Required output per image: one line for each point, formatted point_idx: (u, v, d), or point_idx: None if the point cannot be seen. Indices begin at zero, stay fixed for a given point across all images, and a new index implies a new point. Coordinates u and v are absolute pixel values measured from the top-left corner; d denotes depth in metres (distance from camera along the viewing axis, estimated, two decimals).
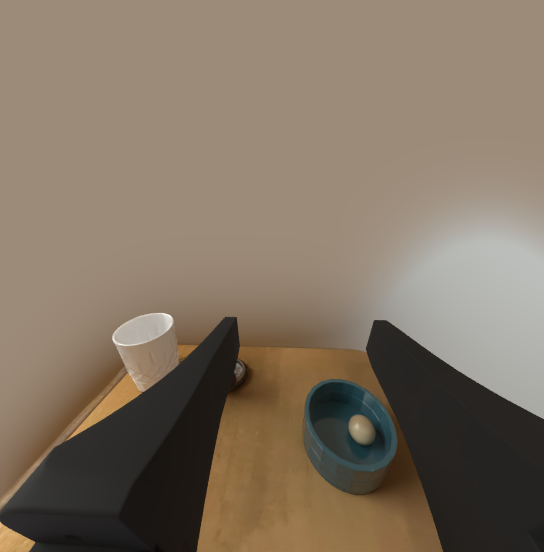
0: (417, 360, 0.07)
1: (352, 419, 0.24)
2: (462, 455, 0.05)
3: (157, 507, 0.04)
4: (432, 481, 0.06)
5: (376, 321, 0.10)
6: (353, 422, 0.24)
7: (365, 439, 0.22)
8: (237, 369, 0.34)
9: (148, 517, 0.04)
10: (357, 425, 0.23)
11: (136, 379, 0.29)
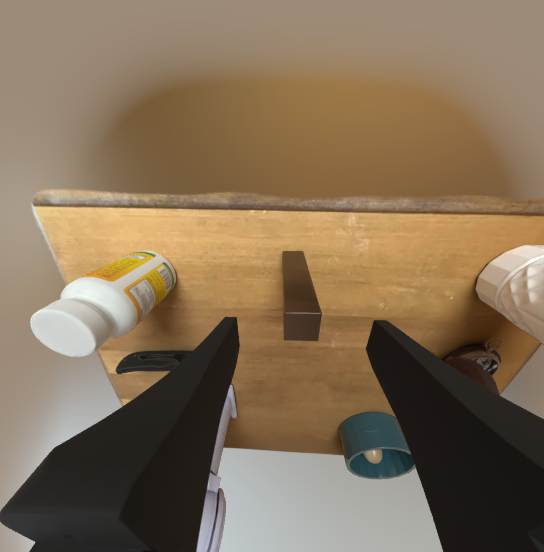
0: (417, 360, 0.07)
1: (379, 454, 0.30)
2: (462, 455, 0.05)
3: (157, 507, 0.04)
4: (432, 481, 0.06)
5: (376, 321, 0.10)
6: (377, 455, 0.30)
7: (364, 454, 0.31)
8: None
9: (148, 517, 0.04)
10: (374, 457, 0.30)
11: (512, 284, 0.17)
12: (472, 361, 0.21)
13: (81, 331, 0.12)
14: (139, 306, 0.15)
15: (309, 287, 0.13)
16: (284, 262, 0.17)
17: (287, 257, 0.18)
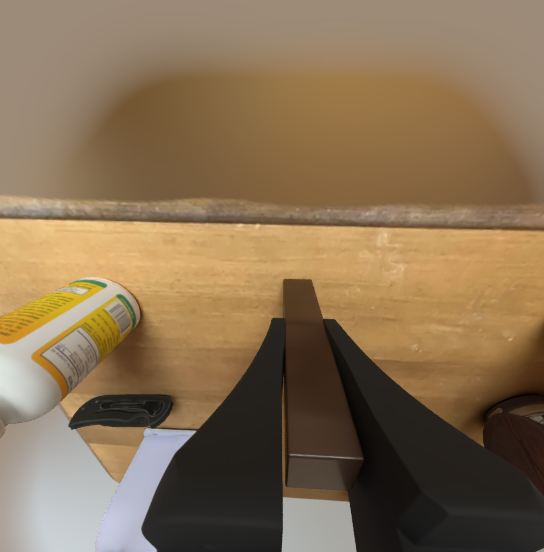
0: (344, 358, 0.07)
1: None
2: (365, 450, 0.05)
3: None
4: None
5: (323, 320, 0.10)
6: None
7: None
8: None
9: None
10: None
11: None
12: (539, 425, 0.15)
13: None
14: (64, 374, 0.10)
15: (329, 366, 0.07)
16: (286, 301, 0.11)
17: (289, 292, 0.12)
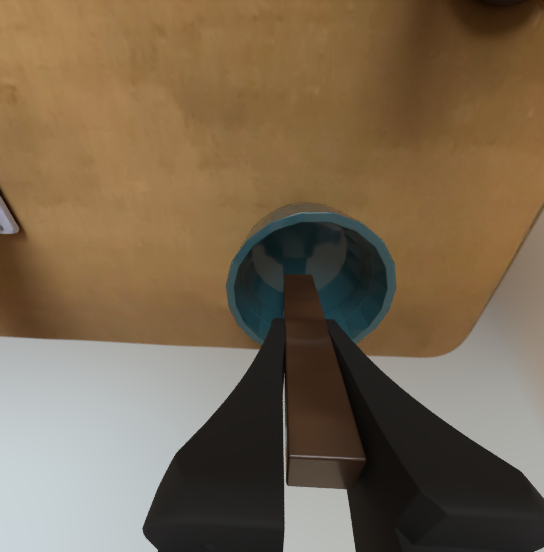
0: (344, 358, 0.07)
1: None
2: (364, 450, 0.05)
3: None
4: None
5: None
6: None
7: None
8: None
9: None
10: None
11: None
12: None
13: None
14: None
15: (330, 363, 0.07)
16: (286, 297, 0.11)
17: (290, 287, 0.12)
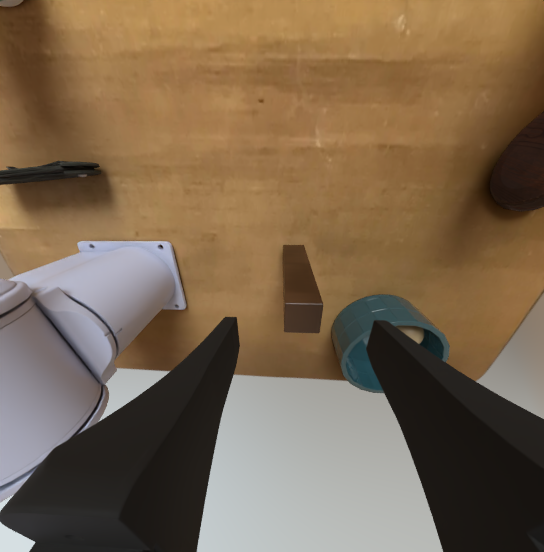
0: (417, 360, 0.07)
1: None
2: (462, 455, 0.05)
3: (157, 507, 0.04)
4: (432, 481, 0.06)
5: (376, 321, 0.10)
6: None
7: None
8: None
9: (148, 517, 0.04)
10: None
11: None
12: None
13: None
14: None
15: (310, 279, 0.13)
16: (285, 255, 0.16)
17: (287, 251, 0.17)
